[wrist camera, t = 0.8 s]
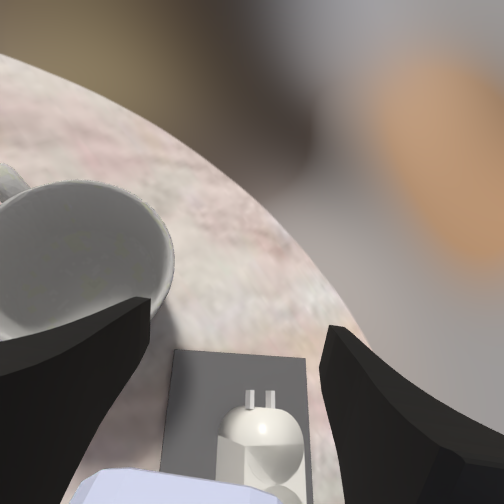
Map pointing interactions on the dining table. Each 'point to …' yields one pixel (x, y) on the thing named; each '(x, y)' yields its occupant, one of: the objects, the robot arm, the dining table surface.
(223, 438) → the plug block
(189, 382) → the rubber mat
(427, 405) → the robot arm
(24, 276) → the teacup
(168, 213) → the dining table surface
